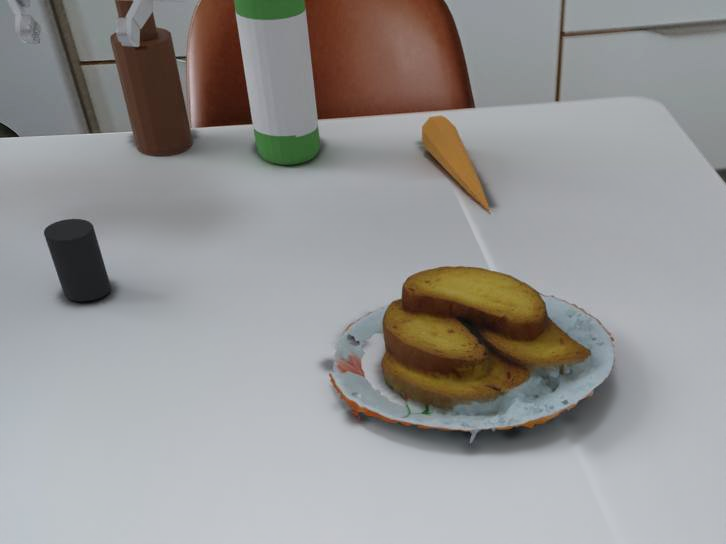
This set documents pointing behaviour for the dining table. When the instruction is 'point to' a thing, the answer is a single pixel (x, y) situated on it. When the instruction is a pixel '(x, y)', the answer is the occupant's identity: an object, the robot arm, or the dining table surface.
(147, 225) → the dining table surface
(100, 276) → the cylinder
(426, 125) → the carrot
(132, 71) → the bottle
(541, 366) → the food on plate
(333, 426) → the dining table surface
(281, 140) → the wine bottle
